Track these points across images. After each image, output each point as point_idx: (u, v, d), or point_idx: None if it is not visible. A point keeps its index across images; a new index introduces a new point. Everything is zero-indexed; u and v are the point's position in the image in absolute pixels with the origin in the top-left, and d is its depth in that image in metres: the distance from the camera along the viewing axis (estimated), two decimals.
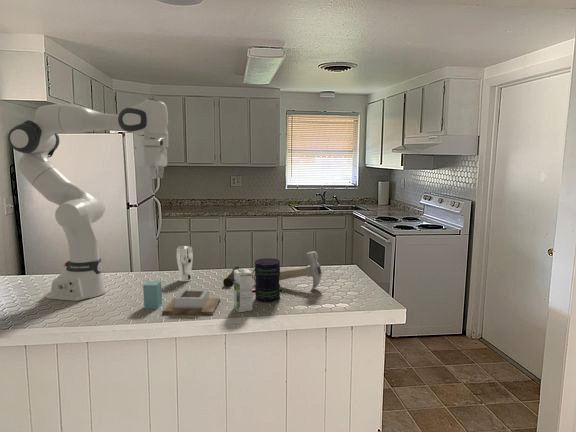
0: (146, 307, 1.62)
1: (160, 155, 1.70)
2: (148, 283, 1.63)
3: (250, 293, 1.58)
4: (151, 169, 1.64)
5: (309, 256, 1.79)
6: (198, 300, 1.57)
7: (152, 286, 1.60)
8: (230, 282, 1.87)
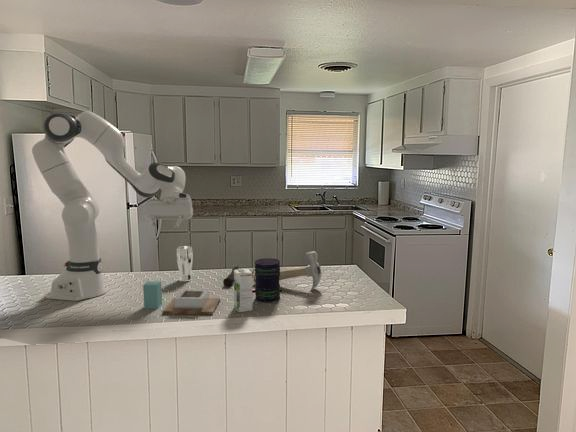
0: (146, 307, 1.62)
1: None
2: (148, 283, 1.63)
3: (250, 293, 1.58)
4: (181, 218, 1.79)
5: (309, 256, 1.79)
6: (198, 300, 1.57)
7: (152, 286, 1.60)
8: (230, 282, 1.87)
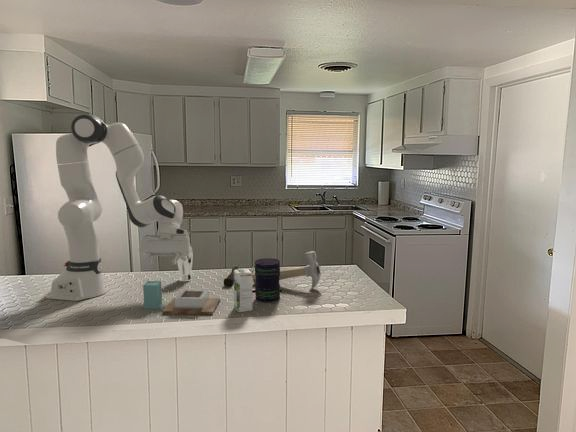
0: (146, 307, 1.62)
1: None
2: (148, 283, 1.63)
3: (250, 293, 1.58)
4: (179, 255, 1.75)
5: (308, 256, 1.80)
6: (198, 300, 1.57)
7: (152, 286, 1.60)
8: (230, 282, 1.87)
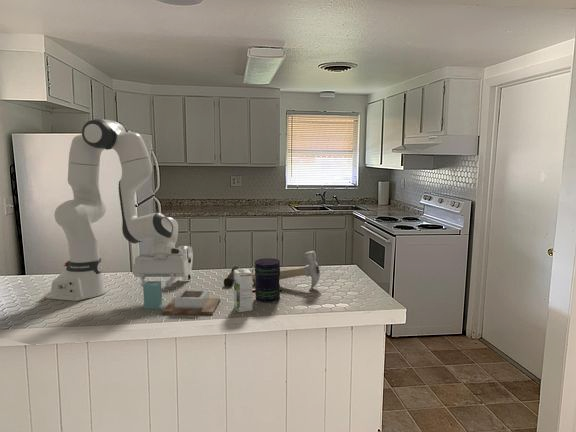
0: (146, 307, 1.62)
1: None
2: (148, 283, 1.63)
3: (250, 293, 1.58)
4: (174, 277, 1.68)
5: (307, 256, 1.80)
6: (198, 300, 1.57)
7: (152, 286, 1.60)
8: (231, 282, 1.87)
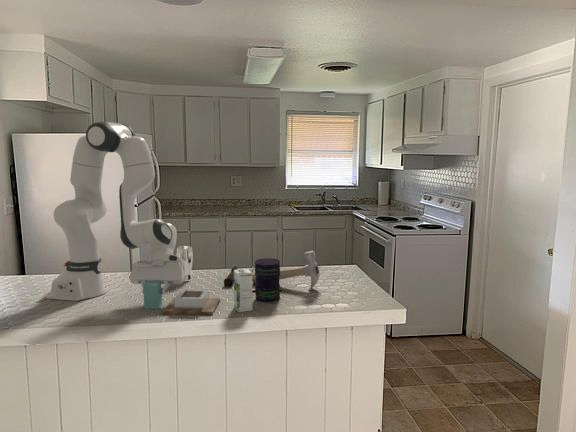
0: (146, 307, 1.62)
1: None
2: (148, 283, 1.63)
3: (250, 293, 1.58)
4: (168, 284, 1.66)
5: (307, 256, 1.80)
6: (198, 300, 1.57)
7: (152, 286, 1.60)
8: (231, 282, 1.87)
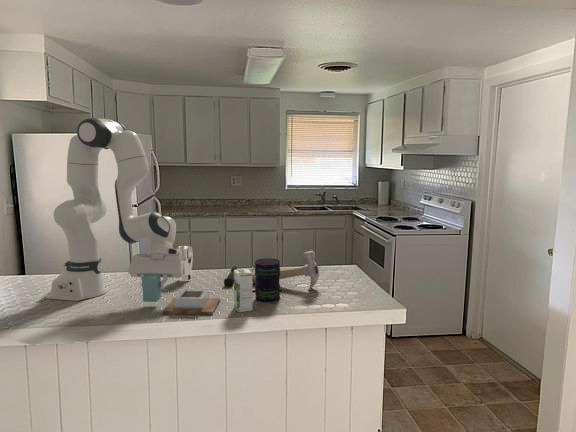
0: (145, 300, 1.61)
1: None
2: (147, 276, 1.63)
3: (250, 293, 1.58)
4: (167, 277, 1.65)
5: (306, 256, 1.80)
6: (198, 300, 1.57)
7: (151, 279, 1.60)
8: (231, 282, 1.87)
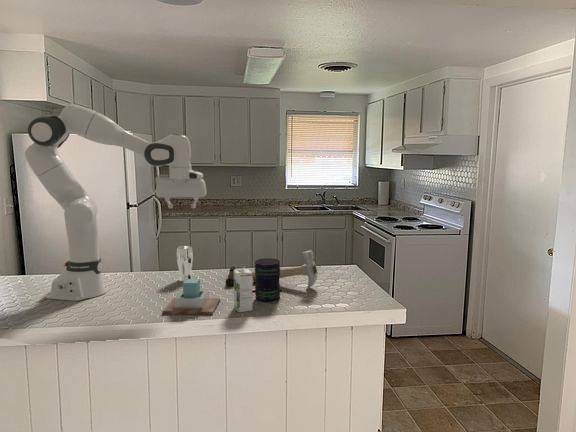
0: None
1: None
2: (187, 281, 1.61)
3: (250, 293, 1.58)
4: (197, 199, 1.80)
5: (304, 255, 1.81)
6: (198, 300, 1.57)
7: (192, 284, 1.59)
8: (233, 282, 1.87)
